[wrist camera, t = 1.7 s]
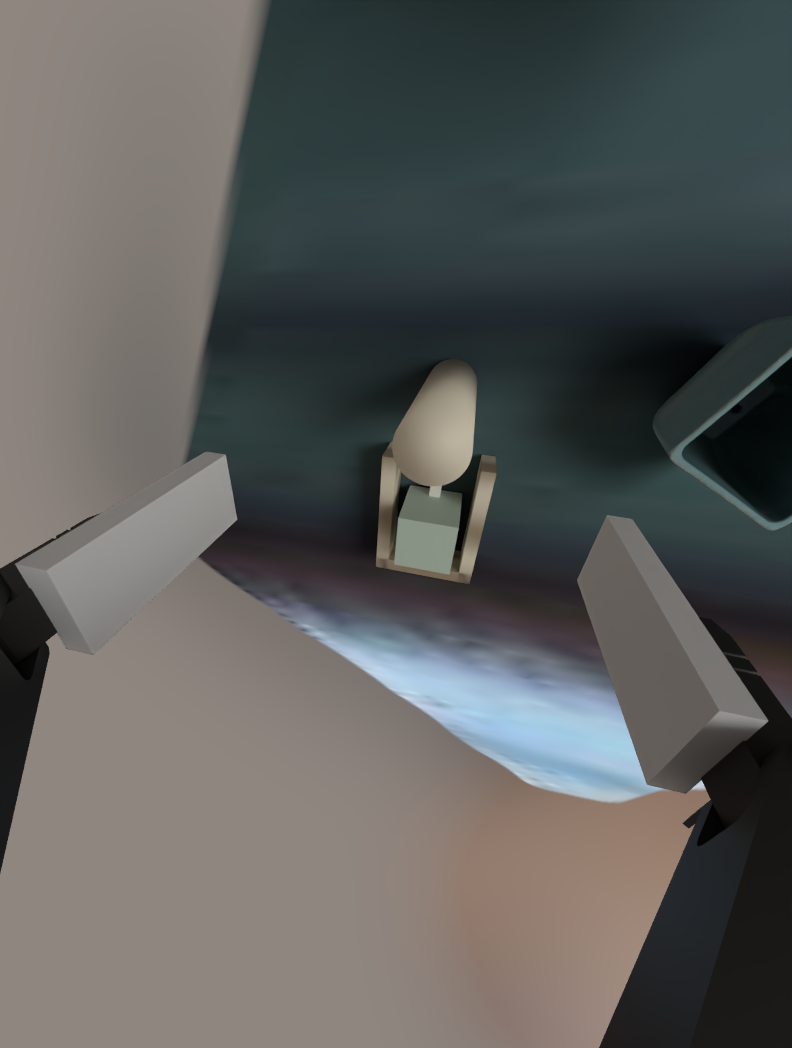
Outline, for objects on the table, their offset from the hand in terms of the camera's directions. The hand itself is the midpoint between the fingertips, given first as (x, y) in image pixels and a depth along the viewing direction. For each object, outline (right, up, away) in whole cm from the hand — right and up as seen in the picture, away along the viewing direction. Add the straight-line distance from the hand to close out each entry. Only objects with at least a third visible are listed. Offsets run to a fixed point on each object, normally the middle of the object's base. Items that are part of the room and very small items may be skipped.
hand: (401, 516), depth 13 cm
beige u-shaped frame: (+3, +1, +23) cm, 24 cm away
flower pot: (+23, +9, +14) cm, 29 cm away
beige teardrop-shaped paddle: (+4, +6, +20) cm, 21 cm away
